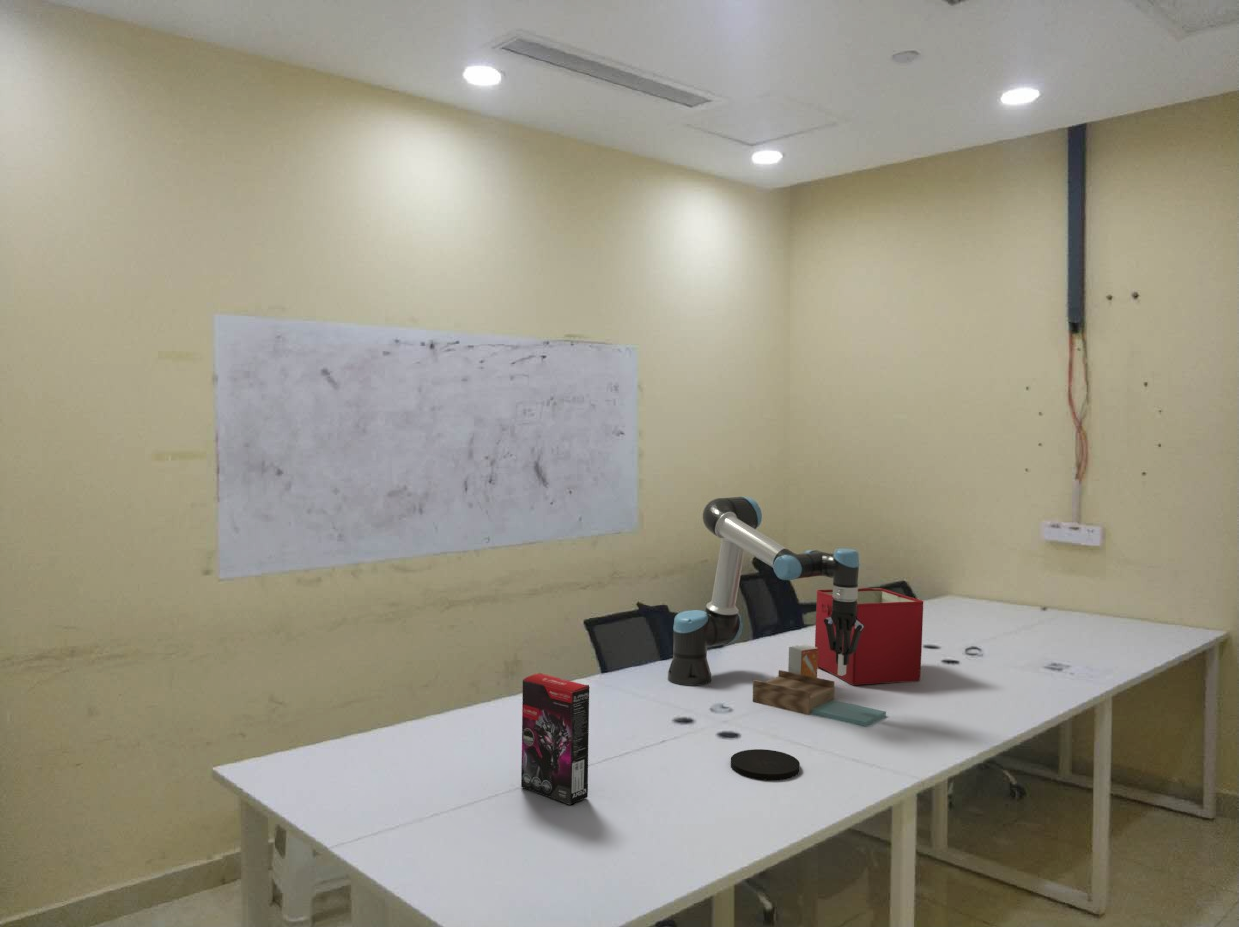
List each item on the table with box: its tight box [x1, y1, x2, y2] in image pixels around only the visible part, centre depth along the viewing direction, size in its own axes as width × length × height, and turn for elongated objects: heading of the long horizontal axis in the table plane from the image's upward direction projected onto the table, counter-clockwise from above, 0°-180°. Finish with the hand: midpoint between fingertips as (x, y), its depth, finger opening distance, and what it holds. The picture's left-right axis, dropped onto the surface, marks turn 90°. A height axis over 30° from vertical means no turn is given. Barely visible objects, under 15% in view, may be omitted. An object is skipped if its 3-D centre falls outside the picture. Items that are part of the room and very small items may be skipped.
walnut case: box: [752, 669, 835, 716], centre depth 301 cm, size 20×17×7 cm
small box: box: [787, 643, 818, 678], centre depth 321 cm, size 8×6×13 cm
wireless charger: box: [730, 748, 801, 782], centre depth 243 cm, size 18×18×2 cm
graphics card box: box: [520, 673, 590, 805], centre depth 224 cm, size 17×7×27 cm, turn 51°
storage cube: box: [814, 587, 924, 686], centre depth 336 cm, size 32×28×29 cm
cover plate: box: [810, 699, 887, 728], centre depth 289 cm, size 18×14×2 cm
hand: (841, 674), depth 290 cm, fingers closed
